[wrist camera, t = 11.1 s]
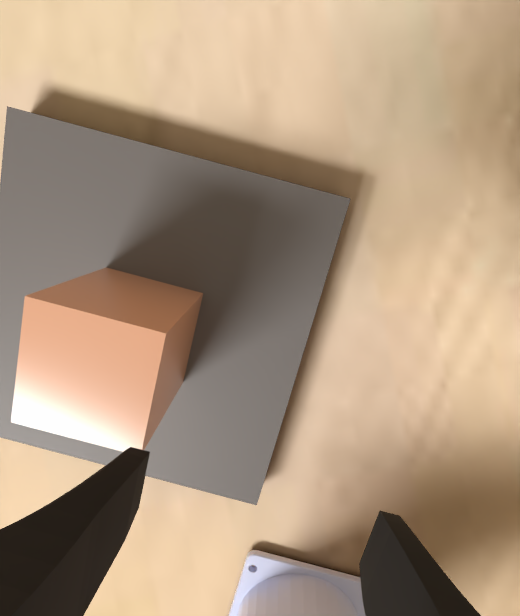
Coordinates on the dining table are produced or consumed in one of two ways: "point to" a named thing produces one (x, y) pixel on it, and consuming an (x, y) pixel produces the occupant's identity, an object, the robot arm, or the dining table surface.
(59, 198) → the shelf board
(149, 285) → the terracotta block
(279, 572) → the robot arm
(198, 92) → the dining table surface
